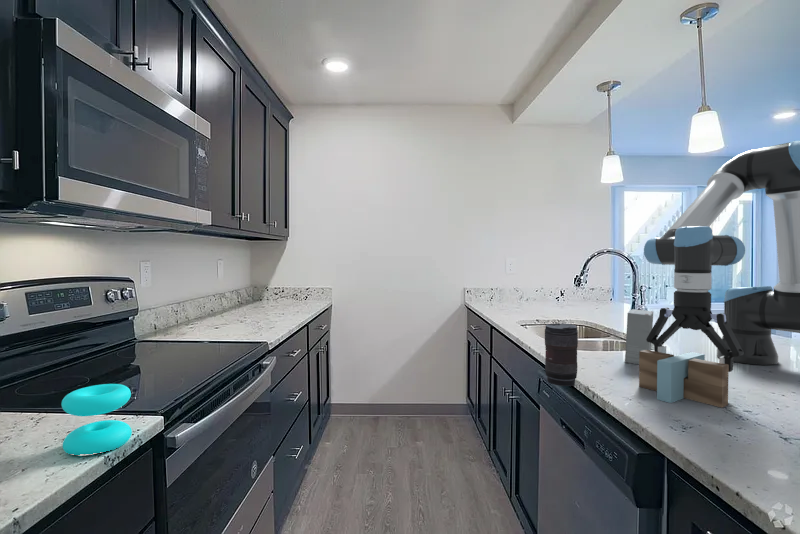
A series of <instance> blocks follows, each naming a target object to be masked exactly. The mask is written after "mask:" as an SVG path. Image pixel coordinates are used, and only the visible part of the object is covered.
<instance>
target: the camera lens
mask: <svg viewBox="0 0 800 534" xmlns="http://www.w3.org/2000/svg"><path fill="white" fill-rule="evenodd" d="M578 335H579V330H578V327H577V325H575V324H571V323H562V322H561V323H557V322H556V323H548V324H546V325H545V327H544V346H545V347H544V348H545V349H544V350H545V359H544V360H545V361H544V369H545V376H546V379H547V383H548V384H552V385H555V386H560V387H571V386H574V385H575V384H576V379H577V378H578V377H577V376H578V347H579V345H578V344H579V338H578V337H579V336H578Z"/></svg>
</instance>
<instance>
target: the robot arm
mask: <svg viewBox="0 0 800 534" xmlns="http://www.w3.org/2000/svg"><path fill="white" fill-rule="evenodd" d="M759 189H765V196H767V197H769V198H770V199H771V200H772V202H773V203H772V204H773V214H774V215H773V216H774V226H775V237H776V252H777V263H778V265H777V266H778V274H779V275H778V276H779V282H778V283H777V284H775V285H774V286H773V287H772V286H771V285H760V286H747V287H746V286H745V287H744V286H743V287H741V286H740V287H731V288H730V287H729V288H727V289H726V290H725V292H724V293H725V294H724V300H723V303H724V304H723V305H724V307H723V312H722V313H721V312H720V313H713V312H712V293H711V292H710V290H712V286H713V285H712V271H713V270H712V269H713V268H712V266H721V267H722V266H724V267H727V266H731V265H732V266H733V265H736V264H738V263H739V262H740V261H741V260H743V258H744V256H745V254H746V247H745V244H744V242H743V241H742V240H741V239H740V238H739V237H736V236H734V235H727V234H725V235H721V234H720V235H719V234H718V235H714V234H713V229H712V228H711V227H710V226H712V224H713V223H714V222H715V220H716V219H717V218H718V217H719V216H720V215H721V213H722V212H723V211H724V210H725V209H726V208H727V207H728V205H729V204H730V203H731V202H732V201H733V200H737V199H738V198H740V197H741V196H742V195H743V194H744V193H745V192H749V191H753V190H759ZM643 247H644V248H643V255H644V257H645V259H646V261H647V262H648V263H650V264H653V265H663V266H666V265H667V266H668V265H670V266H672V265H674V269H673V270H674V271H673V272H674V273H673V275H674V276H673V288H674V292H673V309H671V308H669V307H662V308H660V309H659V315H658V318H657V320H656V321H655V323H654V324H653V327H652V330H651V332H650V333H649V335H648V337H647V339H646V340H647V342H650V343H651V345H653V347H654V348H653V351H656V352H661V353H667V346H666V345H665V343H667V340H669V339H670V338H671V337H672V336H673V335H674V334H676V332H677V331H678V330H679V329H687V330H688V329H690V330H693V331H699V330H700V331H701V332H702V333H703V334H705V336H706V337H707V338H708V339H709V340H710V341H711V343H712V344H713V345H714V346H715V347H716V348H717V349H716V357H718V358H719V362H718V363H722V364H728V365H729V373H730V372H733V370H734V363H739V364H740V363H741V364H747V365H759V366H760V365H761V366H762V365H763V366H766V365H767V366H771V365H773V366H774V365H777V364H779V354H778V352H777V349H776V347H775V343H774V341H773V339H772V331H773V330H774V331H781V332H788V333H789V332H790V333H796V334H800V140H794V141H790V142H784V143H780V144H775V145H771V146H770V145H769V146H765V147H761V148H754V149H751V150H747V151H745V152H742V153H740V154H737V155H736V156H734V157H733V158H732V159H729V160H728V161H727V162H725V163H724V164H723V165H721V166H720V167H719V168H718V169H717V170H715V171H714V173H712V175H711V176H710V177H708V180H707V182H706V187H704V189H703V190H702V191H701V193H700V194H698V196H697V197H696V198H695V199H694V200H693V202H692V203H691V204H690V205H689V206H688V207H687V208H686V209H685V210H684V212H683V213H682V214H681V215H680V216H679V217H678V218H677V220H675V222H674V223H673V224H672V225H671V226H670V227H669V229H668V230H667V231H666V232H665V233H664V234H663V236H661V237H658V236H656V237H653V238H649V239H648V240H647V241H646V242H645V243H644V246H643ZM670 317H673V318H674V319H675V320H674V321H673V322H672V323H671V324H670V326H669V327H668V328H667V329H665V330H664V331H663V333H661V332H662V330H663V328H664V327H665V325H666V323H667V322H668V320H669V318H670ZM712 320H714V322H715V323H716V324H717V326H718V329H719V331H721V334H722V337H721V336H720V335H719V333H718V332H717V331H716V330H715V328H714V327H713V325H712V324H711V323H710V322H711V321H712ZM660 333H661V335H660ZM659 335H660V336H659Z"/></svg>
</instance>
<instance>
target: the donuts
mask: <svg viewBox="0 0 800 534" xmlns="http://www.w3.org/2000/svg"><path fill="white" fill-rule="evenodd" d="M131 396H132V393H131V389H130V388H129V386H127V385H124V384H121V383H103V384H102V383H101V384H95V385H89V386H86V387H82V388H78V389H76V390H73V391H71V392H70V393H67V394H66V395H65V396H64V397H63V399H62V400H61V409H62V410H63V411H64V412H65V413H66V414H68V415H71V416H76V417H93V416H99V415H104V414H108V413H111V412H114V411H117V410H118V409H120V408H122V407H123V406H124V405H126V404H127V403H128V401H130V399H131ZM132 433H133V429H132V427H131V426H130V424H128V423H126V422H125V421H121V420H117V419H107V420H98V421H93V422H90V423H86V424H84V425H81V426H79V427H76V428H75V429H74V430H72V431H71V432H69V433H68V434H67V435H66V436H65V438H64V439H63V441H62V449H63V451H64V453H66V454H67V453H68V454H67V455H69V454H74V455H80V454H93V453H100V452H106V451H109V452H111V451H110V450H112V451H114V450H116V448H117V449H118V448H120V447H123V445H124V446H125V444H126V443H127V442H129V440H130V438H131V436H132ZM106 453H107V452H106Z"/></svg>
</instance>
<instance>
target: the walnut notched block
mask: <svg viewBox="0 0 800 534" xmlns="http://www.w3.org/2000/svg"><path fill="white" fill-rule="evenodd" d="M673 356H675V354H672V353H667V352H666V353H661V352H656V351H654V350H651V351H650V350H643V351H639V364H638V365H639V366H638V367H639V368H638V387H639V388H642V389H648V390H651V391H654V392H655V391H656V392H657V361H658V360H662V359H666V358H670V357H673ZM729 373H730V372H729V365H728V364H722V363H719V362H716V361H709V360H706V359H705V360H700V359H691V360H688V377H685V378H684V394H683V399H687V400H690V401H695V402H698V403H702V404H707V405H710V406H714V407H718V408H721V409H722V408H725V407H727V406H729Z"/></svg>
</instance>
